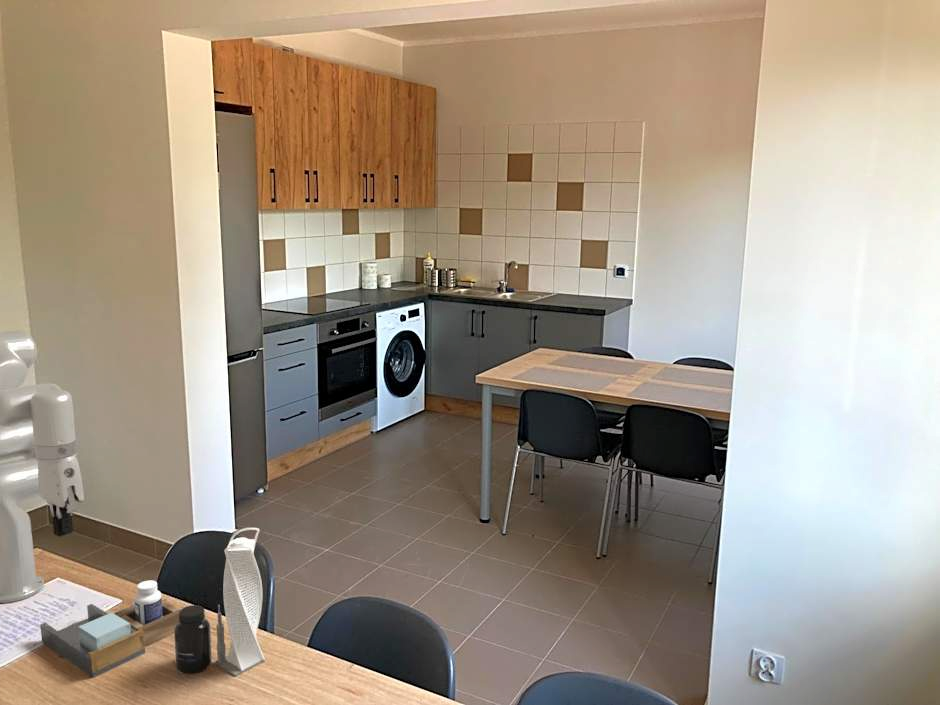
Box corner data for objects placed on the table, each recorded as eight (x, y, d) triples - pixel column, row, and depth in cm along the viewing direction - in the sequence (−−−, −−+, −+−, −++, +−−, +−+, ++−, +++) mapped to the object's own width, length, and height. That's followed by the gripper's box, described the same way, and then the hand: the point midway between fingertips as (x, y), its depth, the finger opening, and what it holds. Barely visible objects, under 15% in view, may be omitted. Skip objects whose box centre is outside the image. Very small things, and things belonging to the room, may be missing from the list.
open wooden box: (106, 626, 169) (105, 609, 168) (148, 608, 177) (147, 592, 176) (142, 648, 161) (140, 630, 160) (184, 628, 169) (183, 611, 168)
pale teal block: (80, 653, 157) (77, 626, 156) (114, 638, 163) (111, 612, 162) (98, 666, 153) (96, 638, 152) (132, 649, 158) (130, 623, 157)
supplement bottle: (178, 679, 151) (174, 622, 148) (174, 661, 156) (170, 606, 154) (214, 669, 154) (211, 614, 152) (209, 652, 160) (206, 599, 157)
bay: (42, 641, 163) (39, 620, 162) (92, 620, 172) (91, 599, 171) (93, 677, 151) (91, 654, 150) (145, 652, 159) (143, 630, 158)
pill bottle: (167, 620, 170) (165, 579, 168) (155, 633, 165) (152, 591, 163) (144, 618, 171) (141, 577, 169) (131, 631, 165) (128, 589, 164)
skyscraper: (251, 645, 162) (245, 520, 157) (274, 660, 157) (269, 531, 152) (215, 663, 156) (208, 533, 151) (238, 678, 151) (231, 545, 146)
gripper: (92, 452, 157) (99, 536, 160) (56, 439, 166) (64, 519, 169) (55, 461, 151) (63, 549, 155) (20, 447, 160) (28, 530, 163)
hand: (63, 533), depth 162 cm, fingers closed
